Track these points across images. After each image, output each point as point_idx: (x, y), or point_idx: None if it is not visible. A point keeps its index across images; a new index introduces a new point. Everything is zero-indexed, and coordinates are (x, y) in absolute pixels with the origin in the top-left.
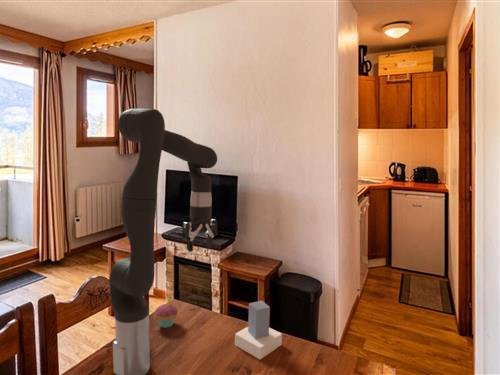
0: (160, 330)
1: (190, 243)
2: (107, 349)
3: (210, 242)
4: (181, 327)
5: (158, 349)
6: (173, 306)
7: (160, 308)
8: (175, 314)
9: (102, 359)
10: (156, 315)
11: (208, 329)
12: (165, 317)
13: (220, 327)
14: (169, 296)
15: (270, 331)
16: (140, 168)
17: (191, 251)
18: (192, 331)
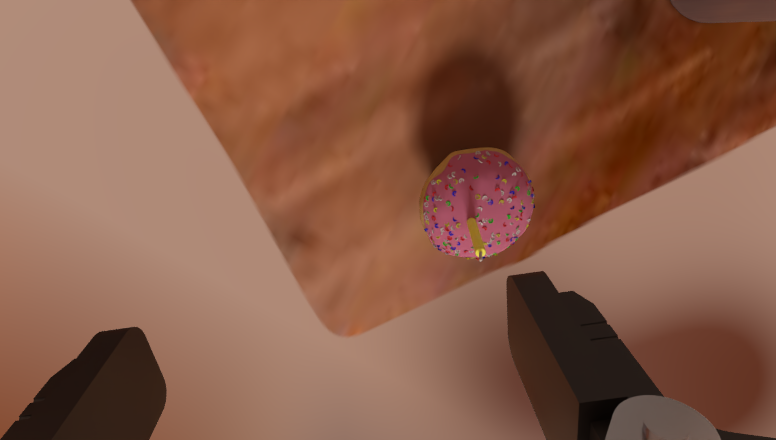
0: None
1: (611, 377)
2: (710, 147)
3: (78, 397)
4: (421, 126)
5: (581, 26)
6: (450, 205)
7: (514, 217)
8: (457, 156)
9: (753, 96)
10: (534, 195)
11: (326, 32)
12: (509, 157)
13: (264, 10)
14: (479, 240)
15: None
16: None
17: (533, 272)
18: (398, 65)
